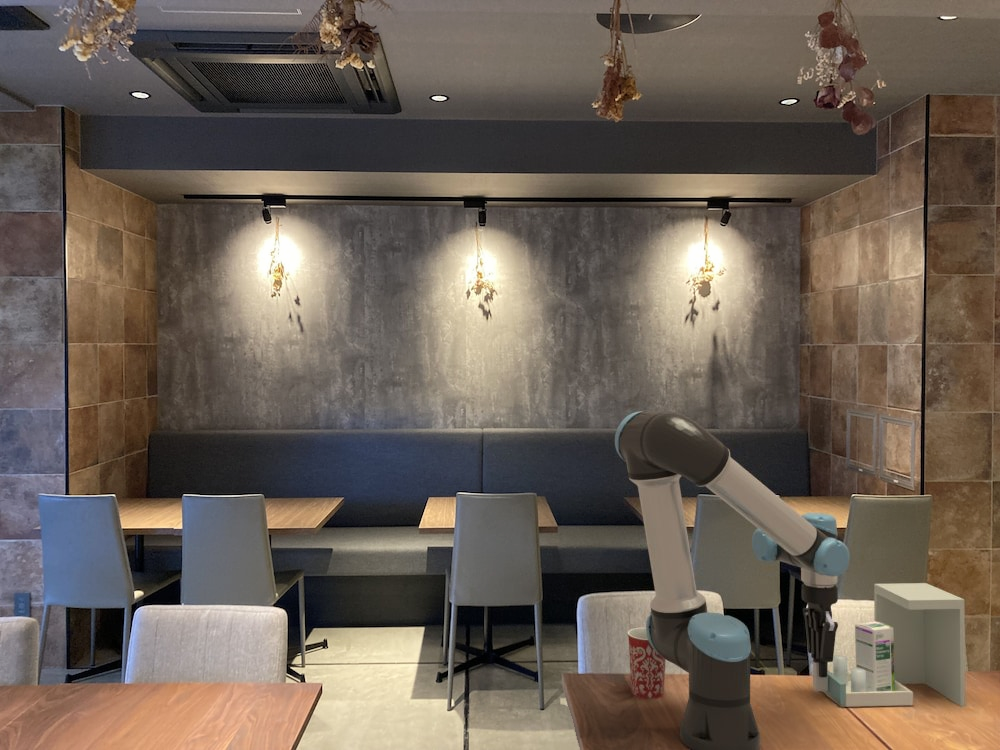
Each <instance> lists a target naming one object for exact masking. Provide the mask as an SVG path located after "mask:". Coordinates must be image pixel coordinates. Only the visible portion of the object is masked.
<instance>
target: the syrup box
mask: <svg viewBox="0 0 1000 750" xmlns="http://www.w3.org/2000/svg"><path fill="white" fill-rule="evenodd" d="M854 630H855V631H854V634H855V635H854V636H855V639H854V640H855V642H854V643H855V668H861V669H864V670H865V671H866V692H875V691H895V677H894V633H893V627H891V626H889V625H887V624H884V623H880V622H875V620H874V621H870V622H861V623H855V624H854Z"/></svg>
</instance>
